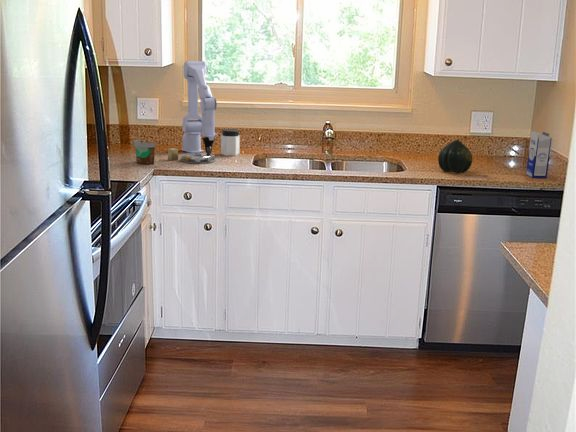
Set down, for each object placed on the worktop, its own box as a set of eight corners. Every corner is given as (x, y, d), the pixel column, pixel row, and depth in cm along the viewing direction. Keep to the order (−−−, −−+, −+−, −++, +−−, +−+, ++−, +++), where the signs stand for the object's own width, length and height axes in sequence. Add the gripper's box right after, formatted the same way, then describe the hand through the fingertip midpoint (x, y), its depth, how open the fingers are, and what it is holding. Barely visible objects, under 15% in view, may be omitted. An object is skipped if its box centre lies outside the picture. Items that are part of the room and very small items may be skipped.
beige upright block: (167, 159, 305) (167, 148, 303) (174, 158, 307) (174, 147, 305) (171, 160, 302) (171, 149, 301) (178, 160, 304) (178, 148, 303)
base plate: (174, 159, 305) (173, 158, 305) (202, 156, 315) (202, 155, 315) (192, 165, 294) (192, 164, 294) (222, 161, 304) (222, 160, 304)
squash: (451, 164, 285) (469, 137, 288) (427, 159, 298) (444, 134, 300) (466, 183, 293) (484, 157, 296) (442, 178, 306) (459, 153, 308)
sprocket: (182, 155, 311) (181, 143, 309) (214, 155, 313) (214, 144, 311) (180, 161, 296) (180, 149, 295) (214, 162, 298) (214, 149, 296)
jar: (242, 155, 321) (242, 130, 318) (228, 156, 316) (228, 131, 313) (232, 152, 328) (232, 128, 325) (218, 153, 323) (218, 129, 320)
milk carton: (525, 174, 297) (531, 130, 292) (540, 174, 297) (546, 130, 292) (532, 178, 290) (538, 132, 285) (546, 178, 290) (553, 133, 285)
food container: (128, 162, 296) (127, 140, 293) (139, 160, 300) (139, 138, 297) (144, 166, 288) (143, 143, 285) (156, 164, 292) (155, 142, 289)
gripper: (220, 126, 297) (220, 155, 300) (213, 121, 310) (213, 149, 314) (205, 126, 294) (205, 156, 298) (198, 121, 307) (198, 150, 311)
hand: (208, 153), depth 306 cm, fingers closed, pressing on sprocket
